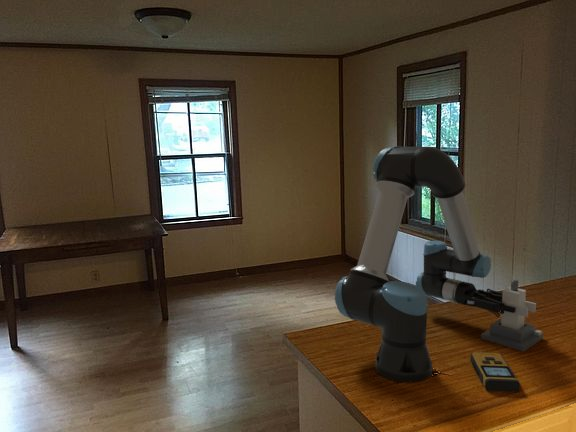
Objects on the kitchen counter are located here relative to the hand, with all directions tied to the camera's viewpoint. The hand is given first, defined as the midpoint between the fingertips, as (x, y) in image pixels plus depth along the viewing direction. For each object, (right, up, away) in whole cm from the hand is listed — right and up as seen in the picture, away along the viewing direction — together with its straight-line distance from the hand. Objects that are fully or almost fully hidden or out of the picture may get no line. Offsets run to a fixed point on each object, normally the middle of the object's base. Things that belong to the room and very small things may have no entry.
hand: (531, 310), depth 144 cm
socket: (-3, -10, +6) cm, 12 cm away
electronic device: (-18, -15, -16) cm, 28 cm away
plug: (-3, -7, +5) cm, 10 cm away
